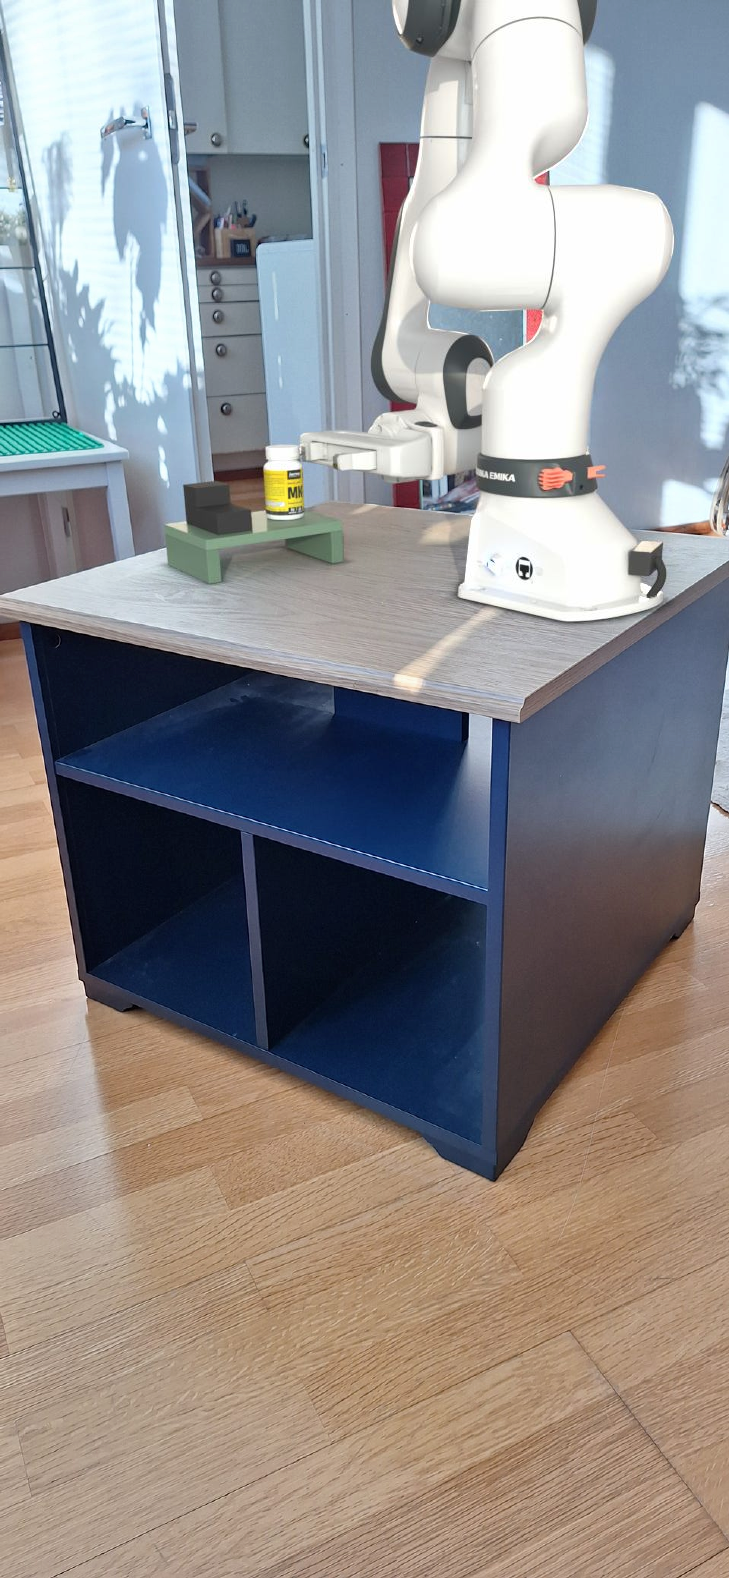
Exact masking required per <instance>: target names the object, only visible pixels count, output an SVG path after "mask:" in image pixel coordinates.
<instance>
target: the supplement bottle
mask: <svg viewBox="0 0 729 1578" xmlns="http://www.w3.org/2000/svg"><path fill="white" fill-rule="evenodd" d="M298 458H299V445H298V444H273V445H267V446H265V460H267V462H266V463H265V464H264V465H263V469H262V470H263V485H264V504H265V511H266V517H267V518H268V519H272V520H295V519H299V518H302V517H303V516H304V510H305V502H304V501H305V499H304V498H305V497H304V495H305V494H304V472H303V471H304V470H303V464H302V462H299V461H298V460H297V459H298Z"/></svg>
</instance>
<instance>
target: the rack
mask: <svg viewBox="0 0 729 1578" xmlns="http://www.w3.org/2000/svg"><path fill="white" fill-rule="evenodd" d="M251 515H252V531H245V532H238V533H231V534H224V535H217V534H214V533H211V532H208V531H206V530H203V529H200V528H198V527H195V526H192V525H190V524H187V523H186V520H185V521H175V522H169V523H164V524H163V528H164V538H165V547H166V557H167V565H168V566H169V567H172V568H174V569H175V570H178V571H180V572H183V573H184V574H187V575H189V576H191V577H194V578H196V579H198V580H200V581H203V582H205V583H207V584H209V585H211V584H216V583H221V582H222V580H223V579H222V567H221V557H220V556H221V555H220V549H227V548H228V549H229V548H234V547H240V546H247V545H253V544H260V543H267V542H268V543H269V542H274V541H280V540H281V541H282V540H284V545H285V546H284V547H285V548H287V549H290V550H293V551H295V552H299V553H302V554H304V555H307V556H310V557H313V558H316V559H318V560H321V561H323V562H324V561H325V562H327V563H330V564H339V563H343V562H344V542H343V541H344V540H343V539H344V536H343V520H341V519H338V518H335V517H331V516H328V515H325V514H320V513H317V512H313V511H311V510H306V509H304V516H303V517H302V518H299V519H295V520H272V519H268V518H267V517H266V510H259V511H251Z"/></svg>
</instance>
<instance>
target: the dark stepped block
mask: <svg viewBox="0 0 729 1578" xmlns="http://www.w3.org/2000/svg"><path fill="white" fill-rule="evenodd" d="M182 488H183V496H184V497H183V498H184V499H183V500H184V510H185V519H186V520H185V521H186V523H187V524H190V525H192V526H195V527H198V528H200V529H203V530H206V531H208V532H211V533H214V534H217V535H224V534H231V533H238V532H245V531H252V515H251V512H252V509H251V508H250V509H249V508H247V507H244V506H240V505H237V504H234V503H231V489H230V484H229V483H225V482H222V481H219V480H211V481H203V482H194V483H186V484H183V485H182Z"/></svg>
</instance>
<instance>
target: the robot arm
mask: <svg viewBox="0 0 729 1578" xmlns="http://www.w3.org/2000/svg"><path fill="white" fill-rule="evenodd" d="M391 7H392V14H393V15H392V16H393V19H394V23H395V30H396V34H397V37H398V38H399V40H400V41H401V43H402V44H403V46H404V47H405V49H406V50H409V51H411V52H413V53H416V54H418V55H422V56H424V57H428V58H430V62H429V66H428V67H429V68H428V73H427V75H426V83H425V88H424V94H423V100H422V101H423V102H422V110H421V118H420V119H421V120H420V134H419V137H420V138H419V148H418V156H417V161H416V166H415V172H414V176H413V178H412V179H413V180H412V183H411V186H410V189H409V191H408V192H407V194H406V195H405V197H404V198H403V200H402V203H401V205H400V208H399V211H398V216H397V220H396V224H395V230H394V235H393V242H392V248H391V254H390V261H389V268H388V274H387V275H388V276H387V282H386V289H385V295H384V303H383V309H382V314H381V318H380V319H381V320H380V324H379V326H378V329H377V333H376V336H375V339H374V342H373V345H372V348H371V353H370V360H369V361H370V363H369V364H370V373H371V377H372V378H371V379H372V382H373V383H374V386H375V387H376V389H377V391H378V393H380V395H381V396H382V397H383V398H385V399H386V400H388V401H390V402H392V403H398V404H409V405H410V404H411V405H416V407H415V408H414V409H407V410H398V411H390V412H384V413H382V414H379V416H378V417H376V419H375V420H374V422H373V423H372V425H371V427H370V428H369V429H368V431H360V430H351V429H333V430H321V431H309V432H305V433H302V434H300V436H299V445H298V446H299V458H298V459H297V460H298V461H299V462H300V463H308V464H315V465H321V466H326V467H333V469H334V470H337V471H342V472H343V471H357V472H362V473H368V474H373V475H378V476H379V477H380V479H382V480H383V481H384V482H385V483H388V484H391V485H392V484H393V485H394V484H401V483H409V482H416V481H438V480H440V481H441V480H442V479H444V477H445V476H452V475H456V474H460V473H465V472H469V471H473V470H475V476H476V477H475V479H476V480H475V481H476V482H475V483H476V484H475V486H476V488H477V489H478V490H479V493H478V494H479V495H478V499H477V504H476V507H475V509H474V512H473V514H472V516H471V521H470V528H469V536H468V545H467V553H466V554H467V555H466V563H465V572H464V574H465V575H464V581H463V582H462V583H461V584H460V585H459V586H458V589H457V597H458V598H460V599H464V600H467V601H472V602H478V603H481V604H486V605H490V606H494V607H499V608H502V609H507V610H512V611H517V612H520V613H525V614H529V615H534V616H538V617H543V618H547V619H552V620H556V621H562V622H586V621H597V620H602V619H603V620H606V619H611V618H617V617H623V616H628V615H631V614H635V613H641V612H644V611H648V610H650V609H652V608H654V607H657V606H659V605H660V604H661V603H663V601H664V592H663V591H662V589H663V588H664V585H665V583H666V580H667V568H666V565H665V563H664V561H663V551H664V550H663V549H664V542H663V541H653V540H652V541H651V540H642V541H641V542H638V541H637V539H636V538H635V537H634V535H633V534H632V533H631V532H630V530H628V529H627V528H626V526H625V525H624V524H623V523H622V522H621V521H620V519H619V518H618V517H617V516H616V514H615V513H614V512H613V511H612V509H611V508H610V507H609V505H607V504H606V503H605V502H604V500H603V499H602V498H601V497H600V495H599V494H598V493H597V490H598V488H599V486H598V485H599V484H598V482H597V479H599V478H604V477H605V476H606V474H604V473H603V474H602V473H601V474H600V473H597V472H598V471H599V472H600V471H602V470H604V469H606V465H596V466H594V464H593V458H592V455H591V453H590V452H589V450H588V451H587V445H588V443H589V427H590V417H591V416H590V415H591V409H592V408H591V407H592V401H593V392H594V385H595V380H596V376H597V375H596V374H597V371H598V368H599V365H600V362H601V359H602V357H603V355H604V353H605V350H606V348H607V346H608V344H609V343H610V340H611V338H612V337H613V335H614V333H615V332H616V331H617V329H618V328H619V326H620V325H621V323H622V322H623V321H624V319H626V318H627V316H628V315H629V314H630V313H631V312H632V311H633V310H635V308H636V307H638V305H640V303H642V302H643V301H644V300H646V299H647V298H648V297H649V296H650V295H652V293H653V292H655V290H656V289H657V288H658V286H659V285H660V284H661V282H662V280H663V279H664V277H665V275H666V274H667V271H668V270H669V267H670V264H671V260H672V256H673V252H674V244H675V243H674V242H675V240H674V237H675V235H674V227H673V223H672V219H671V216H670V214H669V212H668V209H667V207H666V205H665V204H664V202H663V201H662V200H661V198H660V197H659V195H657V194H656V193H653V192H649V191H644V190H641V189H637V188H633V187H628V186H621V185H616V184H611V183H610V184H609V183H608V184H607V183H606V184H605V183H604V184H603V183H602V184H601V183H599V184H558V185H557V184H555V185H554V184H553V185H546V184H541V183H538V182H537V181H536V180H535V179H536V178H537V177H539V176H541V175H542V174H544V173H546V172H548V171H550V170H551V169H553V168H555V167H556V166H558V165H559V164H561V162H563V161H564V160H565V159H566V158H567V157H569V156H570V155H571V153H572V152H573V151H574V150H575V149H576V148H577V147H578V145H579V143H580V142H581V140H582V139H583V137H584V134H585V132H586V129H587V125H588V121H589V110H590V109H589V98H588V86H587V75H586V74H587V72H586V61H585V59H586V58H585V47H586V46H587V44H588V42H589V40H590V37H591V35H592V31H593V29H594V25H595V21H596V18H597V17H596V16H597V12H598V0H391ZM430 303H432V304H435V305H440V306H445V307H449V308H455V309H459V310H460V309H461V310H467V311H473V312H497V311H498V312H499V311H531V310H537V311H541V312H542V315H541V316H542V317H541V321H540V325H539V327H538V330H537V332H536V334H535V335H534V336H533V338H532V339H531V340H530V341H528V342H527V343H525V344H523V345H522V346H520V347H517V348H516V349H514V350H512V351H511V352H509V353H507V354H505V355H504V356H503V357H501V358H500V359H498V360H497V361H496V362H495V359H494V355H493V353H492V351H491V349H490V347H489V345H488V344H487V342H486V341H485V340H484V339H483V338H481V337H480V336H478V335H477V334H471V333H470V334H469V333H465V332H459V331H454V330H442V329H437V328H431V326H430V324H429V319H428V318H429V316H428V315H429V309H430ZM595 490H596V491H595ZM655 572H657V576H656V579H655V581H654V583H653V585H652V586H650V585H648V584H645V583H642V577H650V576H651V575H653V574H654V573H655Z"/></svg>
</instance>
